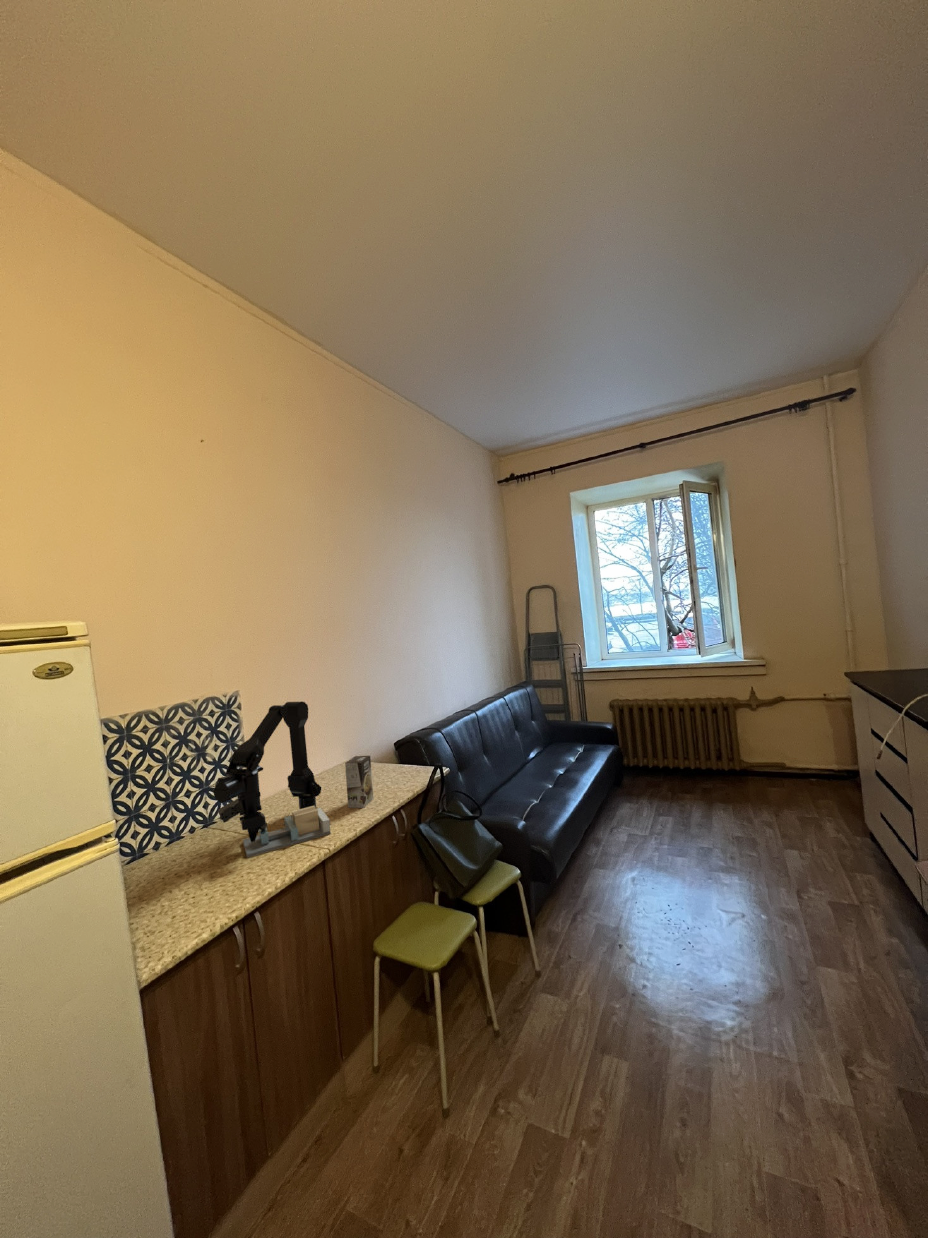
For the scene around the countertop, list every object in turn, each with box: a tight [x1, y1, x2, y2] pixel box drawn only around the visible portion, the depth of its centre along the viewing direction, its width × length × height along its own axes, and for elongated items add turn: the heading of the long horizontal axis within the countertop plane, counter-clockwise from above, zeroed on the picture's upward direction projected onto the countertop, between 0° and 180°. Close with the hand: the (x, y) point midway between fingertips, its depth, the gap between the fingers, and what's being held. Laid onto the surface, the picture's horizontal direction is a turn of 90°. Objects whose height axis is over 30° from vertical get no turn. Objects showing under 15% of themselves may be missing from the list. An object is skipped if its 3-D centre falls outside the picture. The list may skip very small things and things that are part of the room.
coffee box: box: [344, 755, 374, 809], centre depth 175 cm, size 9×6×16 cm
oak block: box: [291, 806, 319, 835], centre depth 152 cm, size 5×7×6 cm
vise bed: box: [242, 807, 331, 859], centre depth 149 cm, size 12×24×4 cm, turn 120°
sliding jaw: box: [258, 815, 299, 845], centre depth 148 cm, size 12×10×6 cm
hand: (252, 841), depth 145 cm, fingers closed
